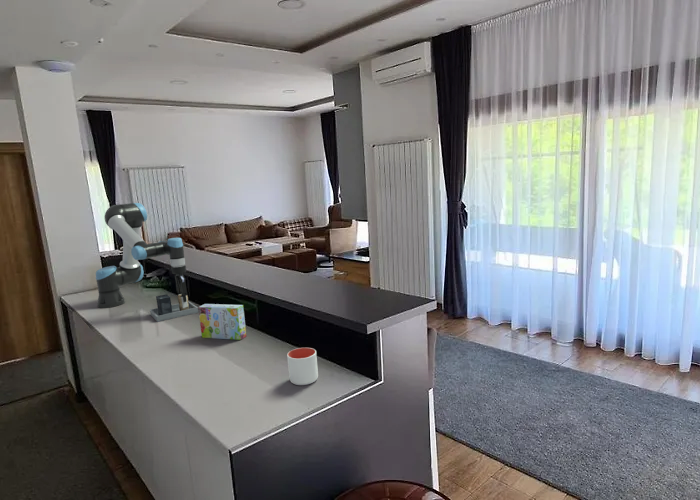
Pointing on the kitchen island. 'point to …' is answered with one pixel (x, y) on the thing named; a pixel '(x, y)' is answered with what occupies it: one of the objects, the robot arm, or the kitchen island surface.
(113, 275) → the robot arm
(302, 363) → the cup
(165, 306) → the box
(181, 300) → the canister
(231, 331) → the snack box
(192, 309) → the grey tray
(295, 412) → the kitchen island surface
